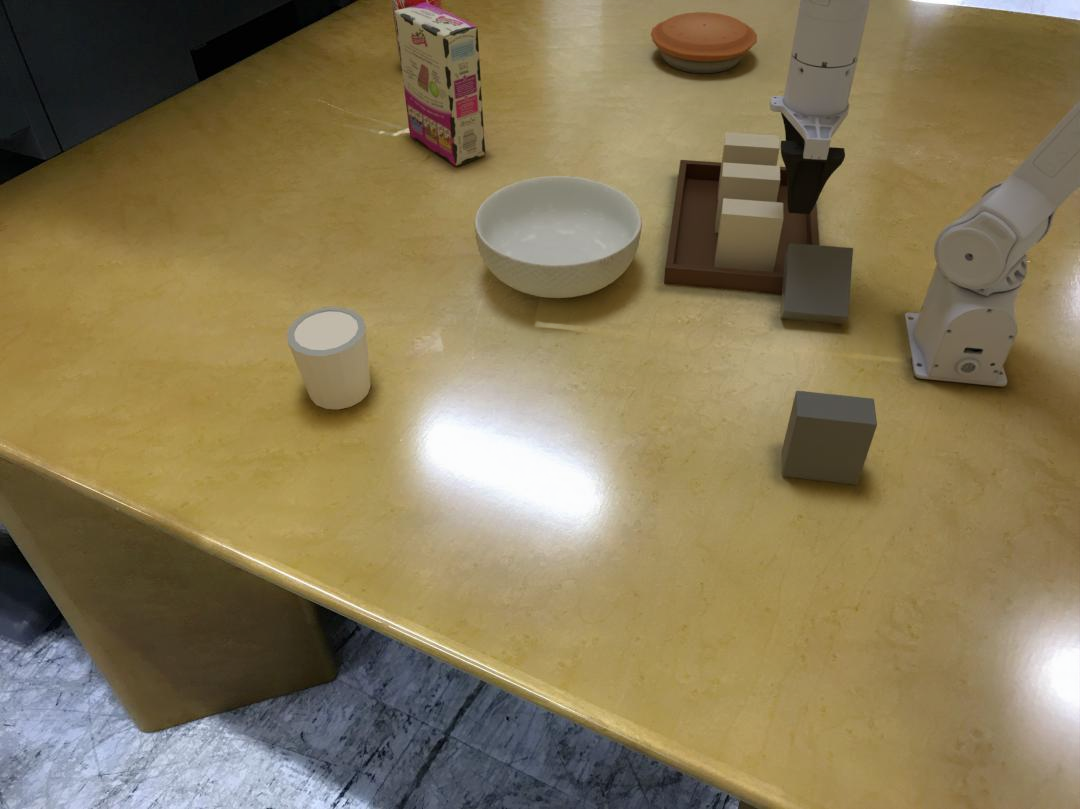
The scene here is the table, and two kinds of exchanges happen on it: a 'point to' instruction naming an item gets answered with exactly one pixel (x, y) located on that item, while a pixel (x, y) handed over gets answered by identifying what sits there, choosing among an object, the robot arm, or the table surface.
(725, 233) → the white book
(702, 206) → the book tray
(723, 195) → the white book
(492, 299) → the table surface
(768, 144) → the white book
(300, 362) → the white cup
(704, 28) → the pie
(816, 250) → the gray rectangular block
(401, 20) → the candy bar box
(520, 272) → the cereal bowl
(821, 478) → the grey book
